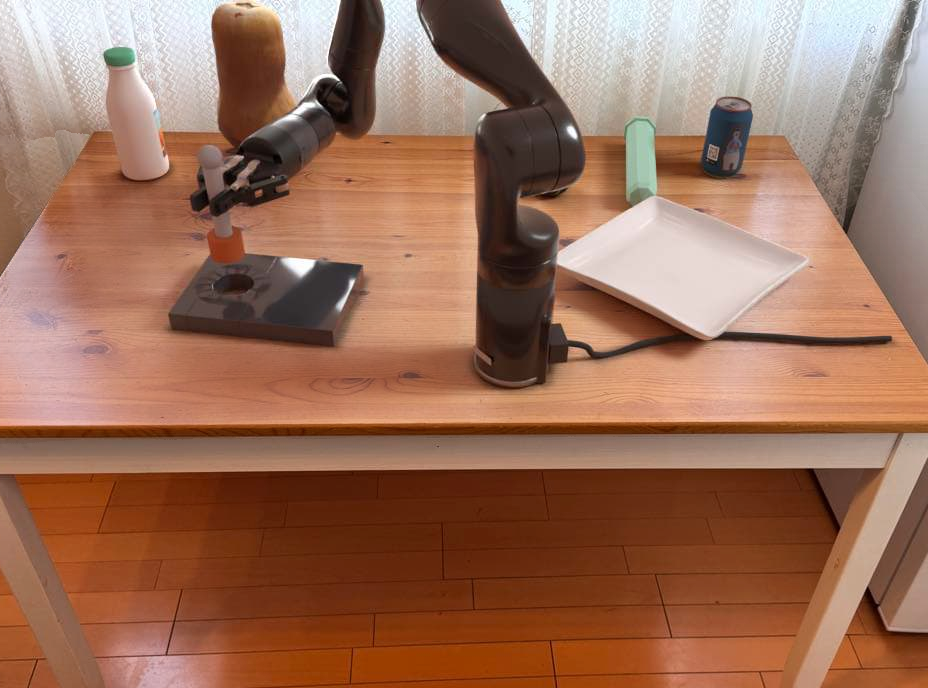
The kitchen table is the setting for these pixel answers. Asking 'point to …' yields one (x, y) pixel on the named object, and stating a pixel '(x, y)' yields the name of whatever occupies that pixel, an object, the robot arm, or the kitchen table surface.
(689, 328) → the square plate
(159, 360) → the kitchen table surface
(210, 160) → the stopper
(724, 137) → the soda can
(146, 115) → the milk bottle
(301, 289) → the dark grey slab
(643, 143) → the container
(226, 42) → the butternut squash
